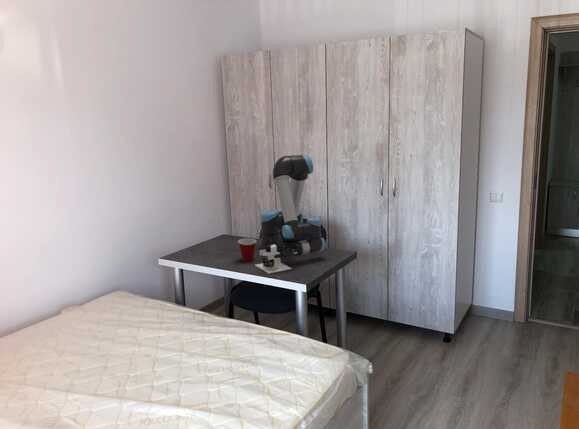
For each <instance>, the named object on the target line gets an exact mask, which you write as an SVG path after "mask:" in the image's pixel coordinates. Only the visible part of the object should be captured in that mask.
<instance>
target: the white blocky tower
mask: <svg viewBox="0 0 579 429" xmlns="http://www.w3.org/2000/svg"><path fill="white" fill-rule="evenodd" d="M265 249H266V253H265V254H263V255H262V263H263V267H266V268H276V267H278V266H279V265H281V263H282V262H281V258H276V259H271V260H268V255H269V254H275V253H279V254H280V252H277V247H276V245H274V244H268V245H266V246H265Z"/></svg>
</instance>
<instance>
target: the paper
mask: <svg viewBox="0 0 579 429" xmlns="http://www.w3.org/2000/svg"><path fill="white" fill-rule="evenodd" d="M254 266H255V267H256V268H258V269H260V270H262V271H263V272H265V273H266V274H274V273H279V272H283V271H287V270H288V271H289V270H292V267H290V266H288V265H286V264H285V263H282V262H281V265H279V266H278V267H276V268H266V267H263V262H262V263H257V264H254Z"/></svg>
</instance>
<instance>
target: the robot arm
mask: <svg viewBox="0 0 579 429" xmlns="http://www.w3.org/2000/svg"><path fill="white" fill-rule="evenodd" d="M313 172H314V163H313V160H312V157H311V156H310V155H309V154H304V153H303V154H302V153H301V154H296V155H295V154H294V155H292V154H291V155H284V156H281V157H279V158H278V159H277V160H276V162H275V163H274V166H273V168H272V179H273V180H272V181H273V182H275V184H276V189H277V194H278V199H279V204H280V206H281V210H278V209H269V210H265V211H263V212H262V213H261V214H260V227H261V228H260V229H261V238H260V242H259V248H260V250H259V256H263V254H265V253H266V249H265V246H266V245H268V244H274V245H276V247H277V252H279V253H280V254H279V253H275V254H269V255H268V260H271V259H276V258H280V259H287V258H290V257H293V256H295V257H297V256H301V255H304V256H306V254H311V253H319V252H321V251H324V250H325V249H326V248H327V247H326V246H327V244H326V240H325V239H324V237H322V234H321V233H322V232H321V231H322V230H321V228H322V227H321V226H322V225H321V219H320V218H319V217H310V218H309V217H308V218H307V220H306V222H304V214H303V211H302V209H301V208H300V206H301V203H302V202H301V201H302V197H303V192H304V191H303V190H304V185H305V181H306V180H308V178H309V175H311V174H313ZM280 232H281V233H282V236H283V238H284V239H294V238H295V239H296V238H301V237H307V239H305V240H300V241H296V242H292V243H291V245H286V244H284V242H283V239H282V237H281V233H280Z"/></svg>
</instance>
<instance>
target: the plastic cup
mask: <svg viewBox="0 0 579 429" xmlns="http://www.w3.org/2000/svg"><path fill="white" fill-rule="evenodd" d="M237 243H238V245H239V248H240V253H241V257H242V260H243V262H246V263H247V262H248V263H250V262H253V261H254V256H255V248H256V243H257V240H256V239H254V238H242V239H241V238H240V239H238V240H237Z"/></svg>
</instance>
